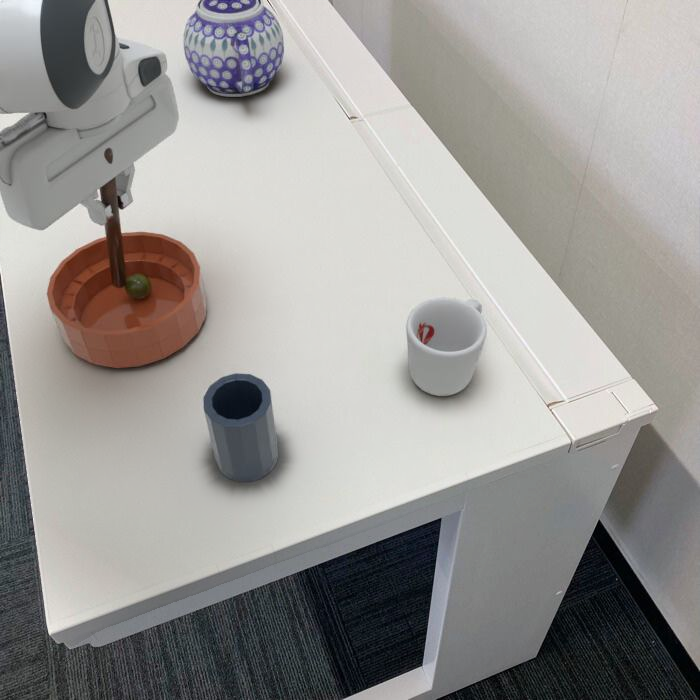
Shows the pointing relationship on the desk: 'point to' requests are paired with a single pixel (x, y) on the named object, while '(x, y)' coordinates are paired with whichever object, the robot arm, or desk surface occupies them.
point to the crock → (241, 426)
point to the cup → (444, 344)
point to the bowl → (128, 301)
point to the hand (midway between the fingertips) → (113, 212)
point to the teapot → (233, 46)
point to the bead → (138, 286)
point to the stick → (113, 230)
